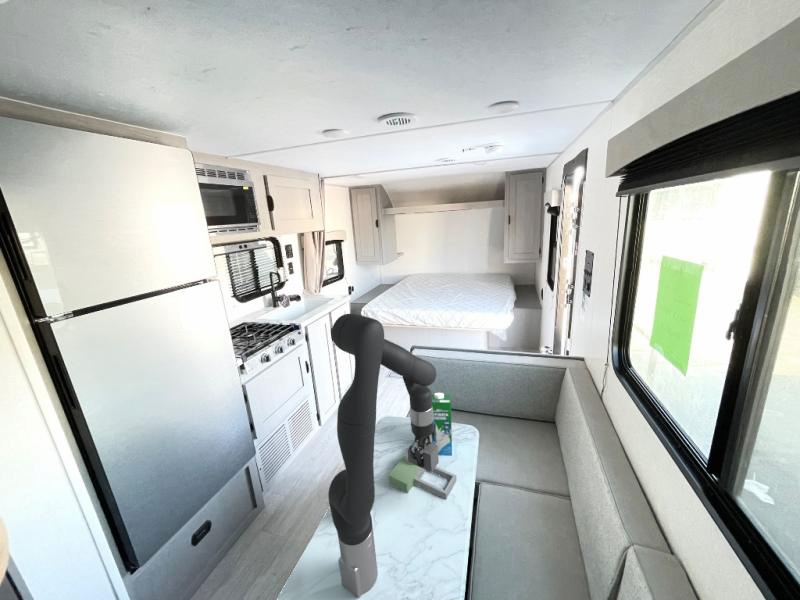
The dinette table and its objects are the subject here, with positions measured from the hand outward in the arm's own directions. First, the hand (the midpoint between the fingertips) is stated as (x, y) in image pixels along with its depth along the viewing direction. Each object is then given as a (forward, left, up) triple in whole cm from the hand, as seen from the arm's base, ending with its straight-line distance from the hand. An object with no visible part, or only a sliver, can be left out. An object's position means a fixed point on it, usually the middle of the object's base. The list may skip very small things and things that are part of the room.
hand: (424, 460), depth 106 cm
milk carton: (+24, +6, -16) cm, 30 cm away
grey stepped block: (0, +1, -1) cm, 1 cm away
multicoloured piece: (+7, +4, -16) cm, 18 cm away
